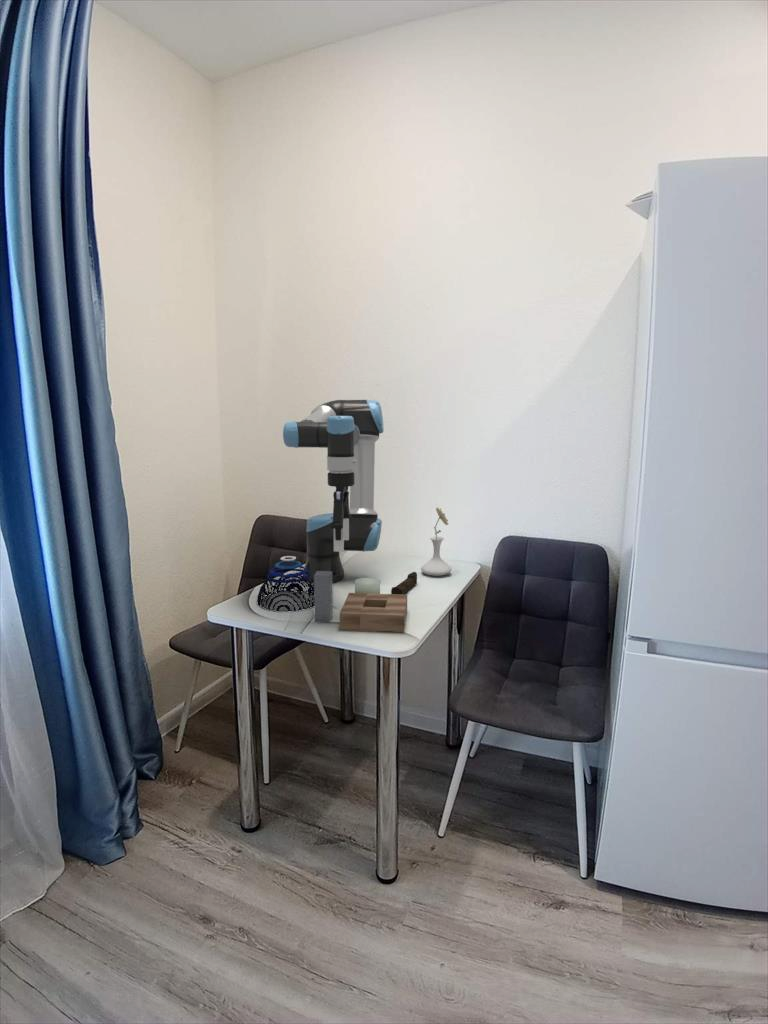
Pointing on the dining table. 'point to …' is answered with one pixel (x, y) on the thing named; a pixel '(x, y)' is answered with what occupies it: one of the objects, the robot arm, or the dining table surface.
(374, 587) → the round stub
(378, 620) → the socket block
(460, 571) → the dining table surface
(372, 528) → the robot arm
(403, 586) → the hand tool
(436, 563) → the flower in vase
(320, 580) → the square bar
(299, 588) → the decorative bowl
